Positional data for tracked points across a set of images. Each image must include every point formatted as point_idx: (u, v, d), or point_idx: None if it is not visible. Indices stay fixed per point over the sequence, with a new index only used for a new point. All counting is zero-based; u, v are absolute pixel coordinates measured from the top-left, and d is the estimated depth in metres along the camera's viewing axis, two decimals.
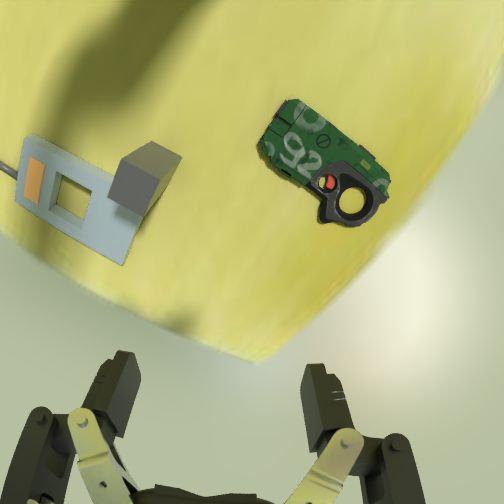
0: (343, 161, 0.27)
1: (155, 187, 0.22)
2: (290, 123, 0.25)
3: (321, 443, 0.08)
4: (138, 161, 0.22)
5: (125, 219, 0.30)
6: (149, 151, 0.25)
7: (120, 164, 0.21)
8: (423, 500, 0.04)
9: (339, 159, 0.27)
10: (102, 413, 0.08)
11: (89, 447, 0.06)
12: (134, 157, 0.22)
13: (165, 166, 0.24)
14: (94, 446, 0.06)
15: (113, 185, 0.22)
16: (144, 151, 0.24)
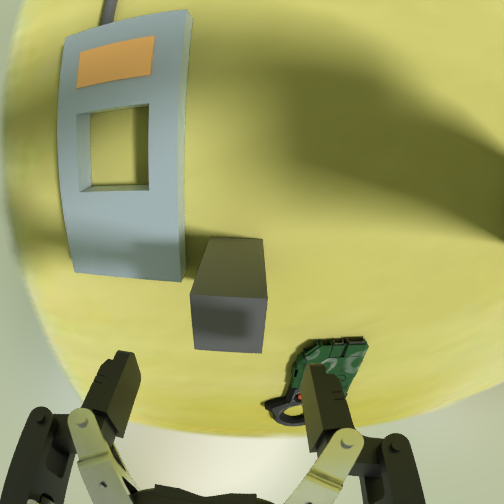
0: None
1: (247, 351, 0.16)
2: (344, 355, 0.26)
3: (321, 443, 0.08)
4: None
5: (138, 260, 0.20)
6: None
7: (258, 300, 0.14)
8: (423, 500, 0.04)
9: None
10: (102, 413, 0.08)
11: (89, 447, 0.06)
12: None
13: None
14: (94, 446, 0.06)
15: (216, 299, 0.14)
16: None
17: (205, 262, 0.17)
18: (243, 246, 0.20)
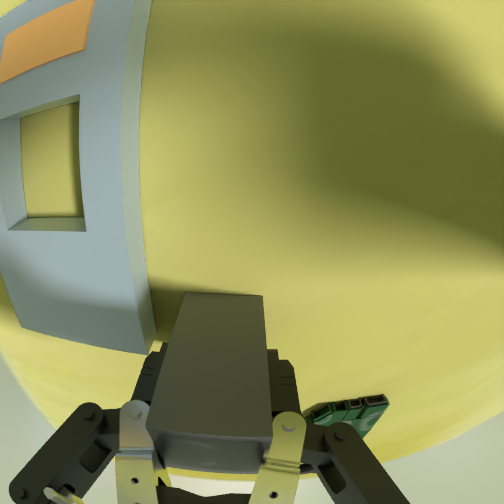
0: None
1: (241, 473, 0.09)
2: (361, 416, 0.19)
3: None
4: None
5: (88, 324, 0.13)
6: None
7: (257, 438, 0.07)
8: (390, 479, 0.06)
9: None
10: None
11: (134, 441, 0.07)
12: None
13: None
14: None
15: (189, 435, 0.07)
16: None
17: (173, 351, 0.10)
18: (233, 313, 0.13)
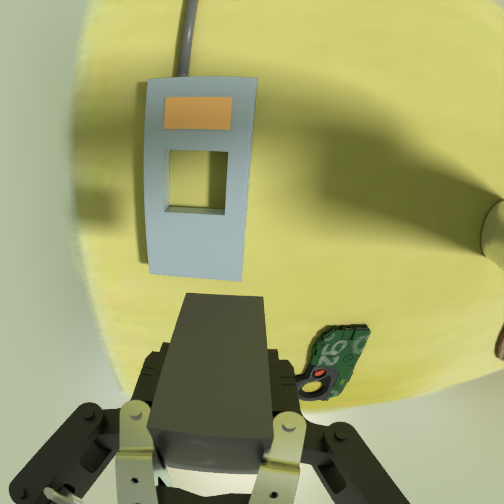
0: (338, 372, 0.37)
1: (242, 473, 0.09)
2: (352, 338, 0.34)
3: None
4: None
5: (210, 265, 0.28)
6: None
7: (258, 439, 0.07)
8: (390, 479, 0.06)
9: (339, 370, 0.37)
10: None
11: (134, 441, 0.07)
12: None
13: None
14: None
15: (190, 435, 0.07)
16: None
17: (174, 351, 0.10)
18: (234, 314, 0.13)
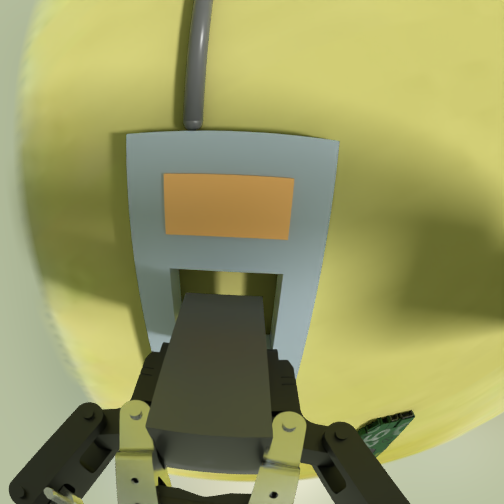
0: (375, 449, 0.28)
1: (242, 473, 0.09)
2: (396, 425, 0.25)
3: None
4: None
5: None
6: None
7: (257, 439, 0.07)
8: (390, 479, 0.06)
9: (376, 448, 0.28)
10: None
11: (135, 441, 0.07)
12: None
13: None
14: None
15: (189, 435, 0.07)
16: None
17: (173, 351, 0.10)
18: (233, 313, 0.13)
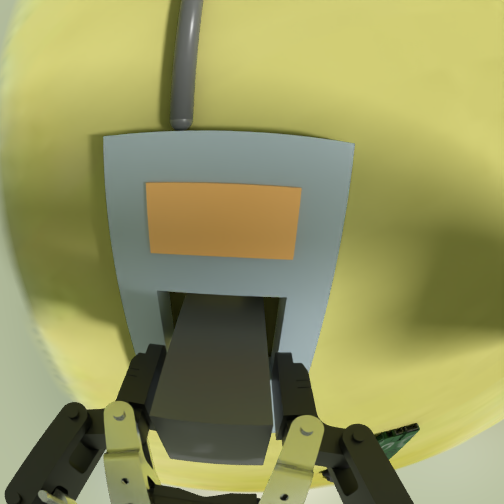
0: None
1: (243, 464, 0.09)
2: (400, 438, 0.23)
3: (284, 429, 0.09)
4: None
5: None
6: None
7: (258, 427, 0.07)
8: (401, 484, 0.05)
9: None
10: (139, 405, 0.09)
11: (120, 441, 0.07)
12: None
13: None
14: (135, 439, 0.07)
15: (192, 424, 0.07)
16: None
17: (176, 344, 0.11)
18: (234, 308, 0.13)
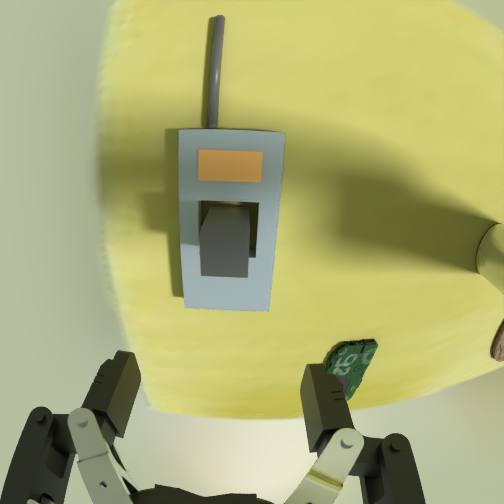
0: (349, 380, 0.41)
1: (237, 276, 0.23)
2: (362, 351, 0.38)
3: (321, 443, 0.08)
4: None
5: (241, 299, 0.32)
6: None
7: (243, 234, 0.22)
8: (423, 500, 0.04)
9: (350, 378, 0.40)
10: (102, 413, 0.08)
11: (89, 447, 0.06)
12: None
13: None
14: (94, 446, 0.06)
15: (217, 235, 0.22)
16: None
17: (208, 217, 0.25)
18: (235, 210, 0.28)
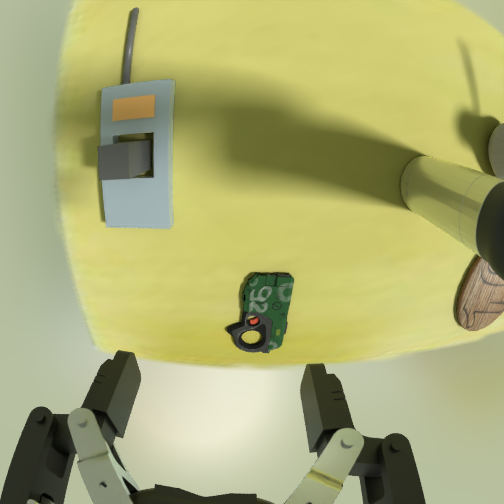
0: (271, 321, 0.44)
1: (122, 178, 0.27)
2: (276, 284, 0.42)
3: (321, 443, 0.08)
4: (132, 153, 0.27)
5: (146, 216, 0.36)
6: (143, 149, 0.31)
7: (124, 144, 0.26)
8: (423, 500, 0.04)
9: (271, 319, 0.44)
10: (102, 413, 0.08)
11: (89, 447, 0.06)
12: (134, 148, 0.28)
13: (139, 169, 0.30)
14: (94, 446, 0.06)
15: (108, 147, 0.26)
16: (141, 146, 0.30)
17: None
18: None
